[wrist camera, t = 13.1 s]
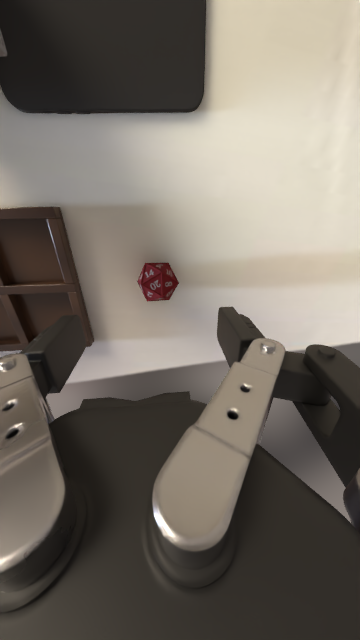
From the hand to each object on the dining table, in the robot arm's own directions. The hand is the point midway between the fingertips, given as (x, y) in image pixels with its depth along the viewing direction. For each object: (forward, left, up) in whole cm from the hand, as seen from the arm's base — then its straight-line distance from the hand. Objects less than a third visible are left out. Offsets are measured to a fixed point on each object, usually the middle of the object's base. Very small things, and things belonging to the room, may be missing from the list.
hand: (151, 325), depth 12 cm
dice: (0, 0, -12) cm, 12 cm away
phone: (-17, -3, -12) cm, 21 cm away
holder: (+1, -16, -12) cm, 20 cm away
